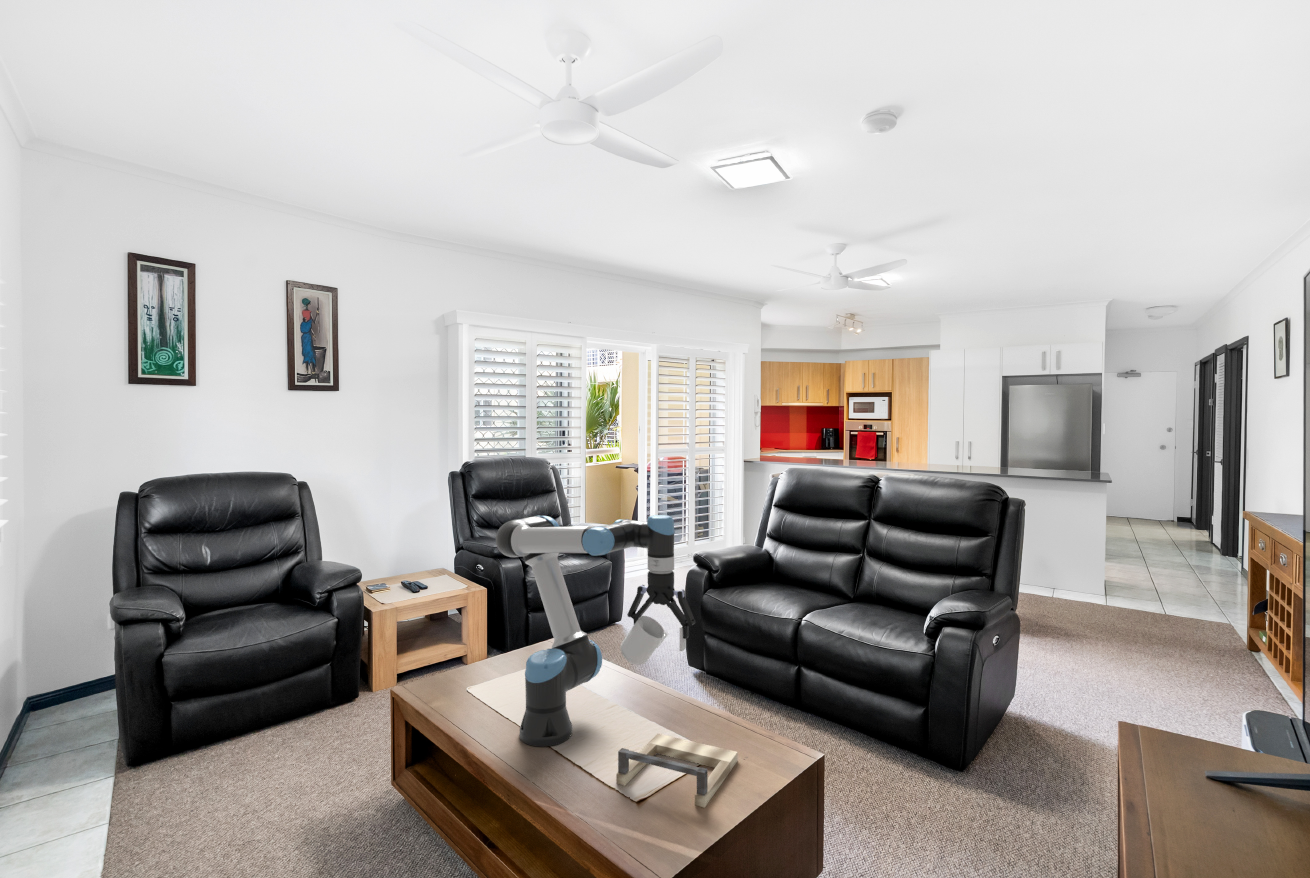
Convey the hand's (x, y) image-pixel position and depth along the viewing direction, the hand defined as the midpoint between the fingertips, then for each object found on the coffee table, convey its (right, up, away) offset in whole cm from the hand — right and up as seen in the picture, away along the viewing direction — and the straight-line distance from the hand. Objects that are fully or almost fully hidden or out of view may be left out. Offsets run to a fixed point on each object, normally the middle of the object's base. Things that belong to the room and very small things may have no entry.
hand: (660, 646), depth 182 cm
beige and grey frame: (+5, -29, -13) cm, 32 cm away
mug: (-7, -4, +5) cm, 10 cm away
